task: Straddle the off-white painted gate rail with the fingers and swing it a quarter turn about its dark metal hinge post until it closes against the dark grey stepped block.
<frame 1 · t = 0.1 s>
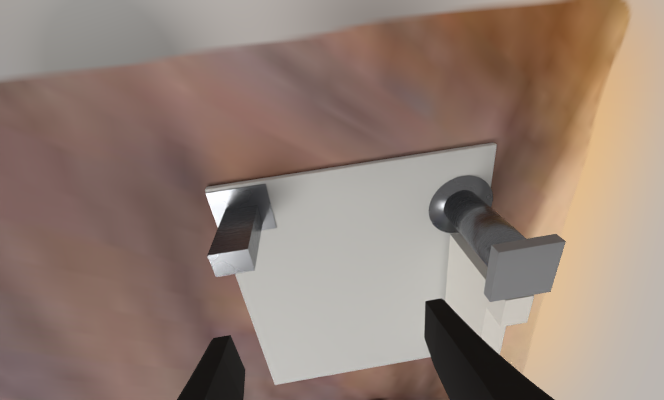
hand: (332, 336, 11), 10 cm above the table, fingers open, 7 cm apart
mat: (363, 283, 24), on the table
gate: (477, 315, 21), point 4 cm above the table, hinge at 0.0°
dark grey stepped block: (245, 212, 20), resting on mat
hinge post: (457, 202, 21), resting on mat
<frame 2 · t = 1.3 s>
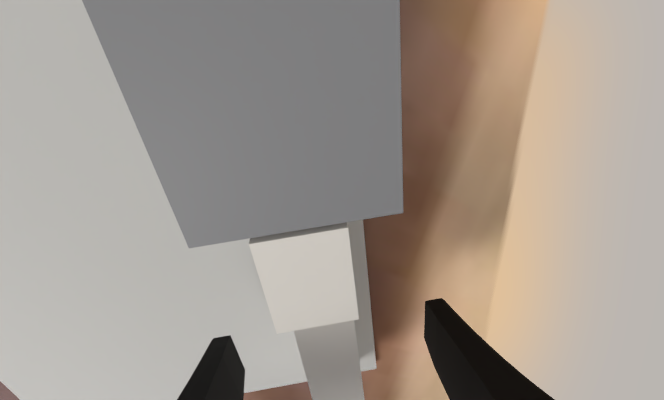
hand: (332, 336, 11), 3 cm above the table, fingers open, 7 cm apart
mat: (145, 250, 13), on the table
gate: (324, 307, 10), point 4 cm above the table, hinge at 0.0°
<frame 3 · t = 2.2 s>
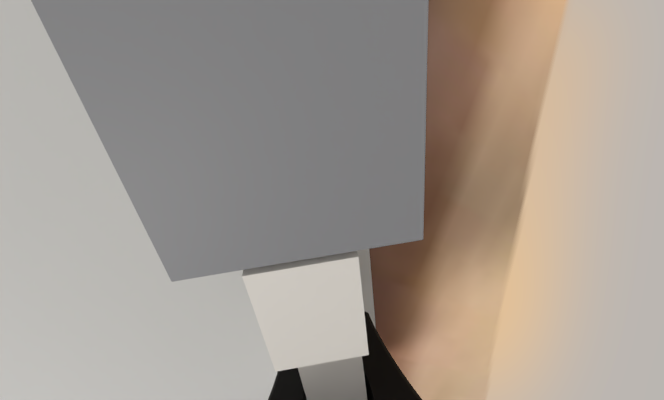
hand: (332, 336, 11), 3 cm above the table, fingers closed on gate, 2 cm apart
mat: (138, 259, 12), on the table
gate: (327, 325, 9), point 4 cm above the table, hinge at 0.0°, touching gripper
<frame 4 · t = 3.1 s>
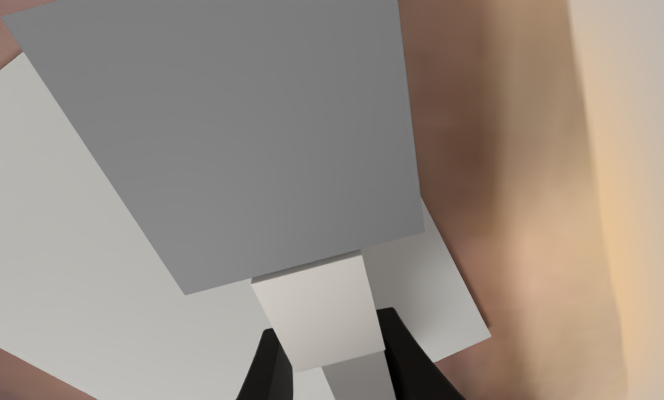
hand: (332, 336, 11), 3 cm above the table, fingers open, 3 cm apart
mat: (227, 292, 13), on the table
gate: (348, 322, 9), point 4 cm above the table, hinge at -16.7°, touching gripper
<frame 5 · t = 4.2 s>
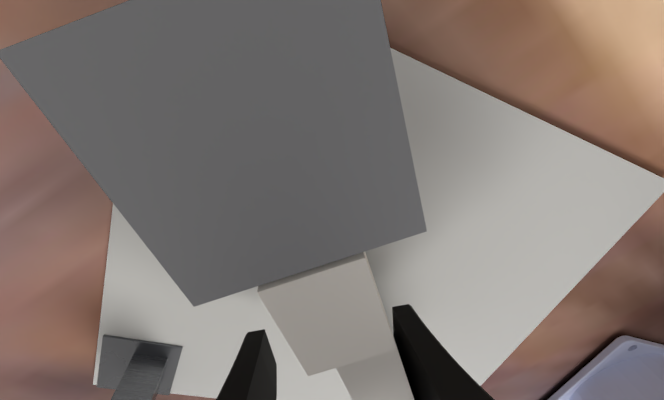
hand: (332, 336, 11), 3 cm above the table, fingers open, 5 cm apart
mat: (361, 284, 14), on the table
gate: (361, 321, 9), point 4 cm above the table, hinge at -50.3°, touching gripper
dark grey stepped block: (152, 359, 15), resting on mat
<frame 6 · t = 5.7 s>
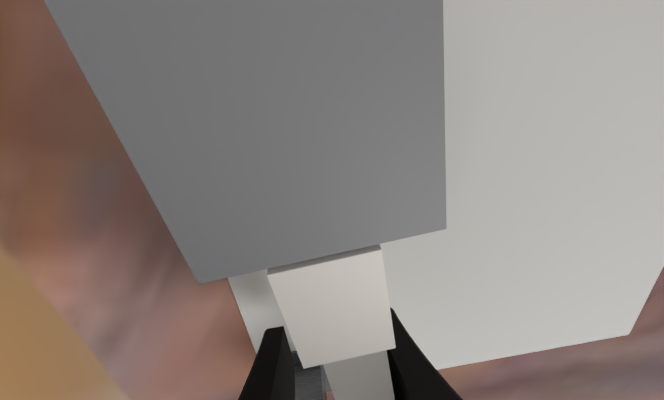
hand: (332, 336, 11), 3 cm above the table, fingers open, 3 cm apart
mat: (465, 226, 13), on the table
gate: (349, 321, 9), point 4 cm above the table, hinge at -86.1°, touching gripper
dark grey stepped block: (308, 364, 16), resting on mat
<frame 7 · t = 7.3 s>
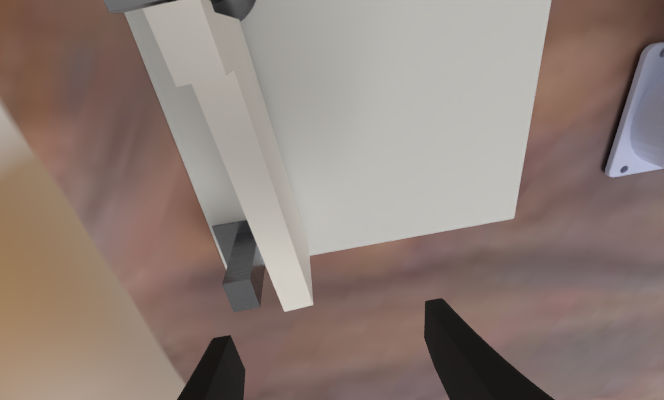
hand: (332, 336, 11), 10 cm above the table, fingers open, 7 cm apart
mat: (358, 110, 17), on the table
gate: (248, 143, 13), point 4 cm above the table, hinge at -86.1°
dark grey stepped block: (252, 239, 20), resting on mat
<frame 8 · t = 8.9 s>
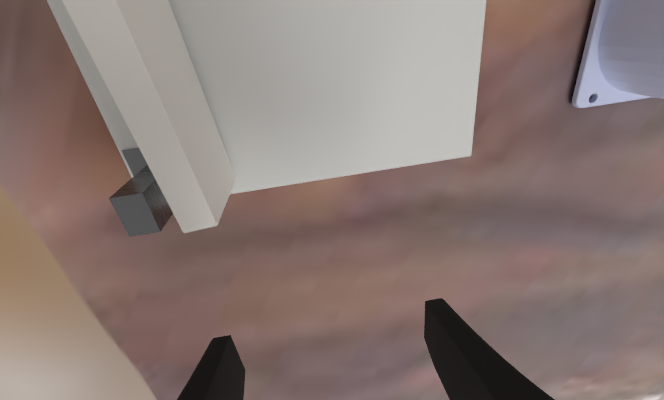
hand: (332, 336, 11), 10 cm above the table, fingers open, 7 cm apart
mat: (282, 9, 15), on the table
gate: (122, 12, 11), point 4 cm above the table, hinge at -86.1°
dark grey stepped block: (174, 171, 18), resting on mat
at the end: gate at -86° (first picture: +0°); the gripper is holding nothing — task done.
